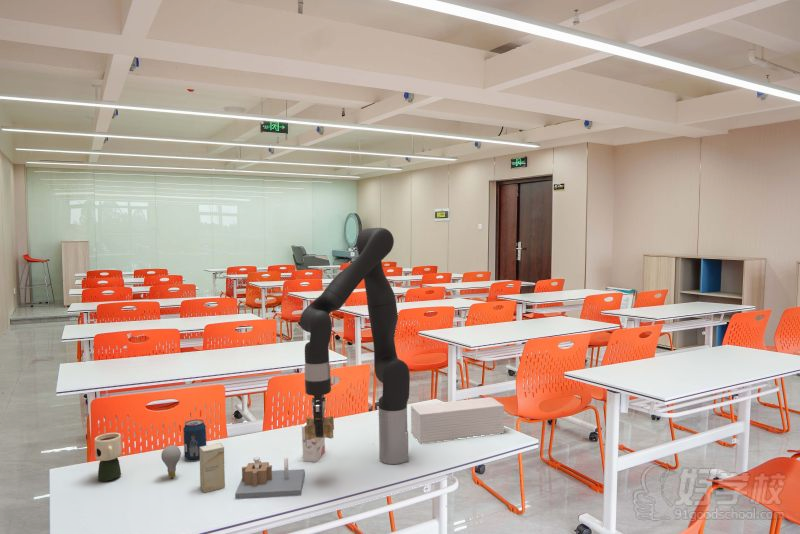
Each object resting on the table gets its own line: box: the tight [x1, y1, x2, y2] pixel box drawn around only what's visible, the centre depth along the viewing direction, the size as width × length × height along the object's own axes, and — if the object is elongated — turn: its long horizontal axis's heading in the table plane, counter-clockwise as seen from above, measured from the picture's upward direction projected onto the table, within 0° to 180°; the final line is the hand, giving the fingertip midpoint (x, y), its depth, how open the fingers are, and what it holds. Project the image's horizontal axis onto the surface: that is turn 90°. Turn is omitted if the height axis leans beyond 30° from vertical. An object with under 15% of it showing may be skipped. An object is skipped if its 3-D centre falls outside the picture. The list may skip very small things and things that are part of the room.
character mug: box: [94, 432, 123, 482], centre depth 169 cm, size 11×7×13 cm, turn 34°
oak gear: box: [305, 415, 335, 440], centre depth 165 cm, size 8×8×4 cm
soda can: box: [183, 419, 207, 462], centre depth 184 cm, size 7×7×12 cm
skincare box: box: [199, 442, 226, 493], centre depth 162 cm, size 6×4×12 cm
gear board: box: [234, 456, 306, 500], centre depth 163 cm, size 18×14×8 cm
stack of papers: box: [410, 396, 505, 445], centre depth 203 cm, size 32×11×11 cm, turn 106°
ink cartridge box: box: [301, 422, 326, 463], centre depth 183 cm, size 9×5×15 cm, turn 168°
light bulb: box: [160, 444, 182, 479], centre depth 169 cm, size 6×5×10 cm
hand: (319, 432), depth 165 cm, fingers closed on oak gear, 6 cm apart
